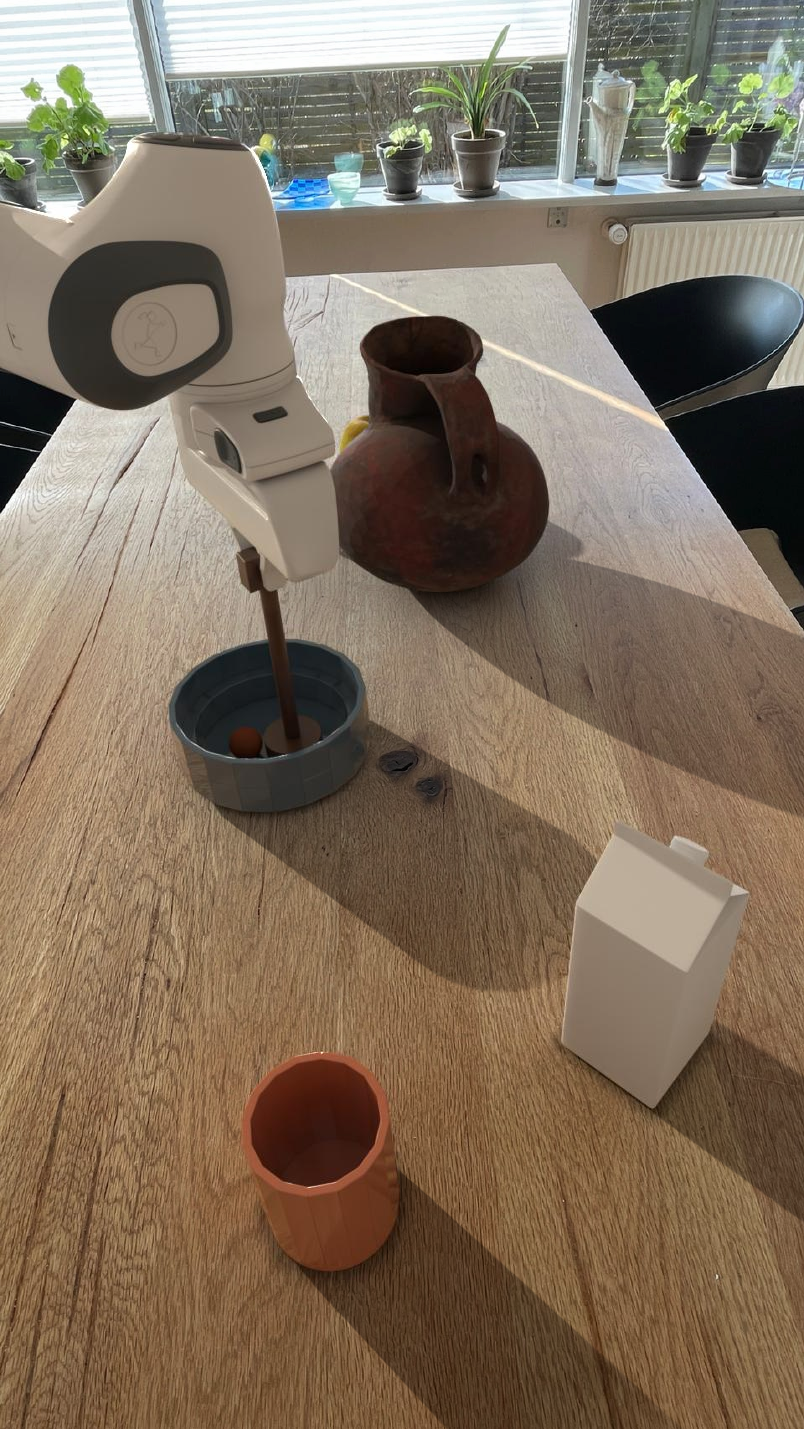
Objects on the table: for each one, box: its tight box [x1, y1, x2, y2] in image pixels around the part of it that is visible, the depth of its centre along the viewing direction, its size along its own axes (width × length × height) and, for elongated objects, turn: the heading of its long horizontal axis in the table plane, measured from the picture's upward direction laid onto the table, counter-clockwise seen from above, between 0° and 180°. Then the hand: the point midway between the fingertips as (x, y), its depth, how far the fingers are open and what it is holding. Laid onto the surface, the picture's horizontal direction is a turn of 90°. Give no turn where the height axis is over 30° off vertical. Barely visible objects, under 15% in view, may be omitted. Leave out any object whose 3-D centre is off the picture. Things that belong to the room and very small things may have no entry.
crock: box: [241, 1050, 400, 1272], centre depth 53 cm, size 8×8×10 cm
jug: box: [329, 315, 550, 593], centre depth 103 cm, size 25×25×25 cm
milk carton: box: [560, 819, 751, 1109], centre depth 58 cm, size 7×7×19 cm
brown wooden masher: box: [235, 547, 323, 758], centre depth 79 cm, size 5×5×20 cm
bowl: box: [167, 638, 371, 813], centre depth 85 cm, size 17×17×6 cm
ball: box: [229, 727, 263, 759], centre depth 85 cm, size 3×3×3 cm
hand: (264, 576), depth 74 cm, fingers closed on brown wooden masher
